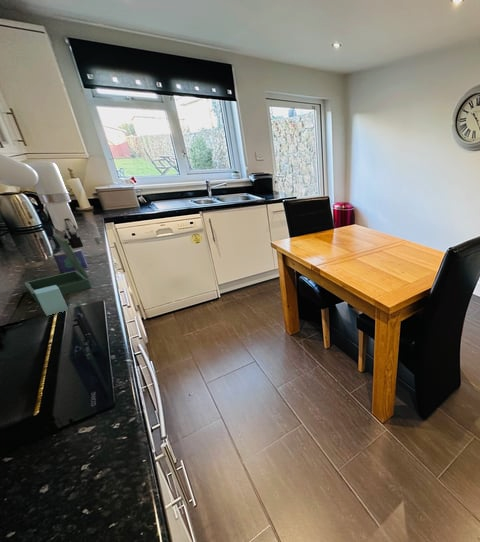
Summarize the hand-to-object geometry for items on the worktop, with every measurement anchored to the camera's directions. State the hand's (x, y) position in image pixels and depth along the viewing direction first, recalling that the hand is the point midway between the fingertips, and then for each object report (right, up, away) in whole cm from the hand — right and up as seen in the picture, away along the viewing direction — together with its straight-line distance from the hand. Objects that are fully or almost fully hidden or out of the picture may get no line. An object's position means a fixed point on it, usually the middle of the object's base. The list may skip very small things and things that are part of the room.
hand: (75, 245), depth 108 cm
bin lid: (-2, -4, -1) cm, 5 cm away
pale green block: (+7, -24, -13) cm, 28 cm away
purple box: (-17, -10, +17) cm, 26 cm away
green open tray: (-5, -18, 0) cm, 18 cm away
